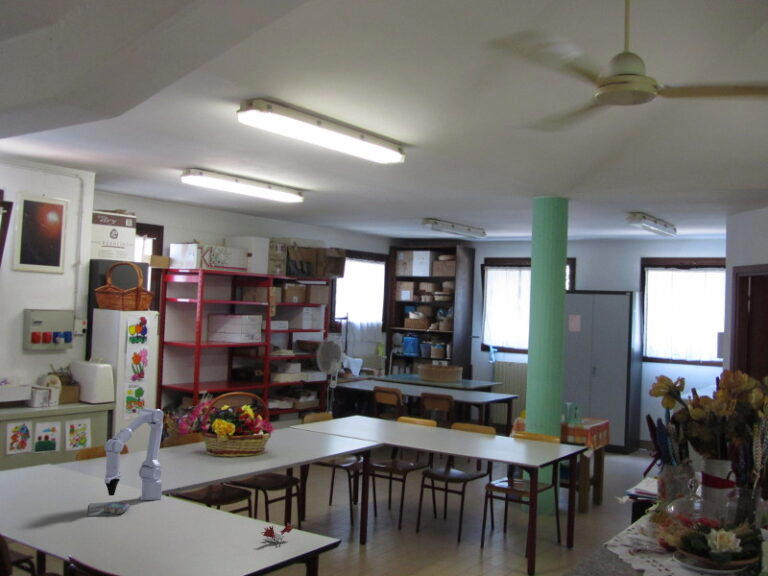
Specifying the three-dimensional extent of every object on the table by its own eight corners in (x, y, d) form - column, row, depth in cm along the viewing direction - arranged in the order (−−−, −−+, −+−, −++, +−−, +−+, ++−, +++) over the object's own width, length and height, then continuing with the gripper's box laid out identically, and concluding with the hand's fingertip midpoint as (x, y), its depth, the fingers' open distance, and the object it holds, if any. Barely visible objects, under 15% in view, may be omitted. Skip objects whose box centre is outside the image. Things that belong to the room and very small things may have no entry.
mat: (116, 502, 344) (116, 501, 344) (116, 514, 325) (116, 513, 325) (89, 504, 340) (89, 503, 340) (88, 516, 321) (88, 515, 321)
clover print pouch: (130, 503, 334) (122, 509, 323) (129, 509, 334) (121, 516, 323) (110, 500, 334) (102, 507, 323) (109, 507, 333) (101, 513, 323)
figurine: (282, 533, 307) (283, 518, 307) (298, 541, 298) (298, 525, 298) (251, 540, 297) (252, 524, 297) (267, 548, 288) (268, 531, 288)
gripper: (116, 469, 327) (114, 499, 327) (126, 462, 342) (125, 491, 341) (100, 469, 327) (99, 499, 327) (111, 462, 341) (110, 490, 341)
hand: (111, 495), depth 334 cm, fingers closed
